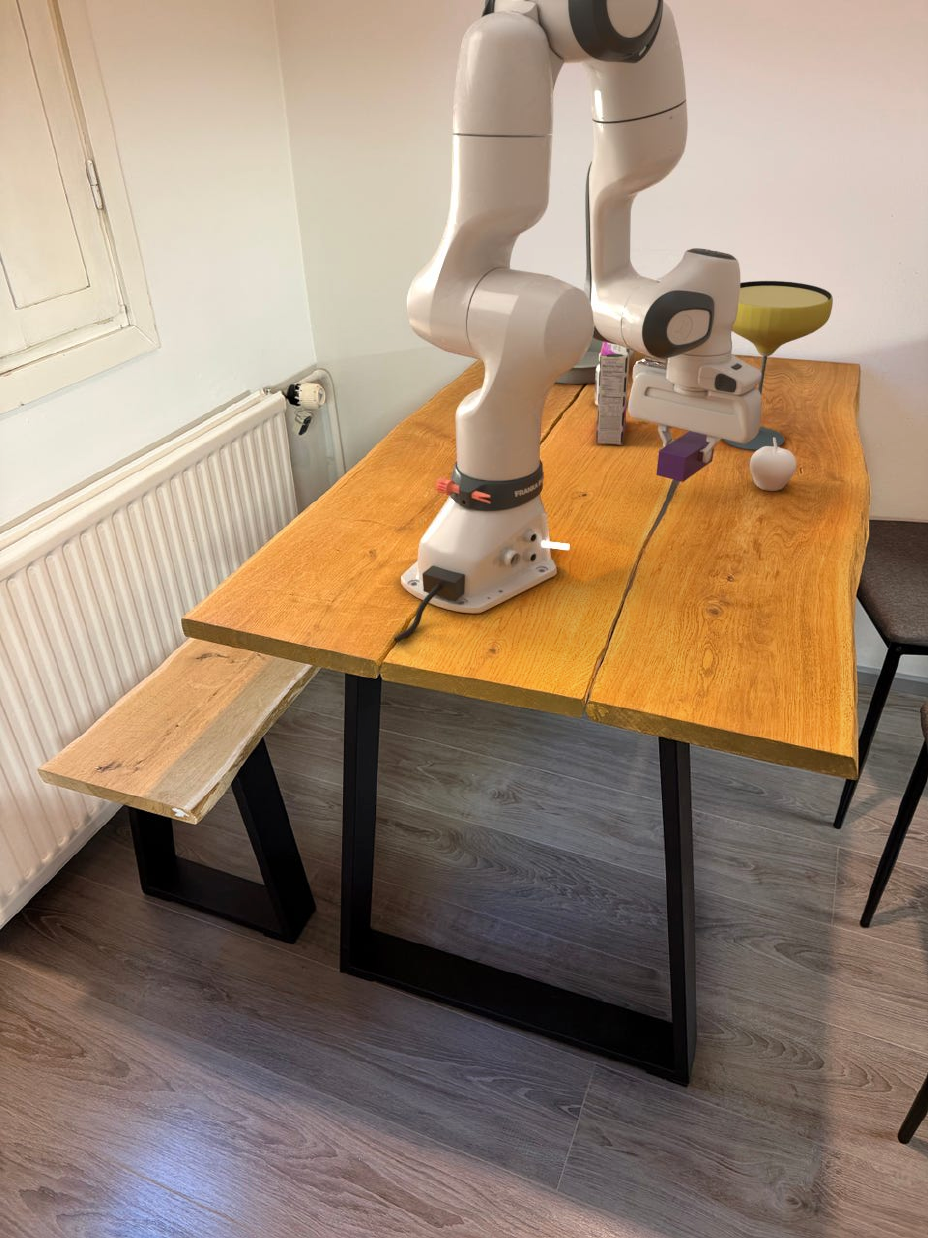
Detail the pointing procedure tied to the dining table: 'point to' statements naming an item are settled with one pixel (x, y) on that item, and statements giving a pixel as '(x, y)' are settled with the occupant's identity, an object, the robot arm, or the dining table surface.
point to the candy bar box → (612, 394)
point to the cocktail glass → (777, 327)
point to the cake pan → (585, 366)
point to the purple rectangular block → (682, 457)
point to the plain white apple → (772, 467)
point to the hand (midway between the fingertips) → (686, 456)
